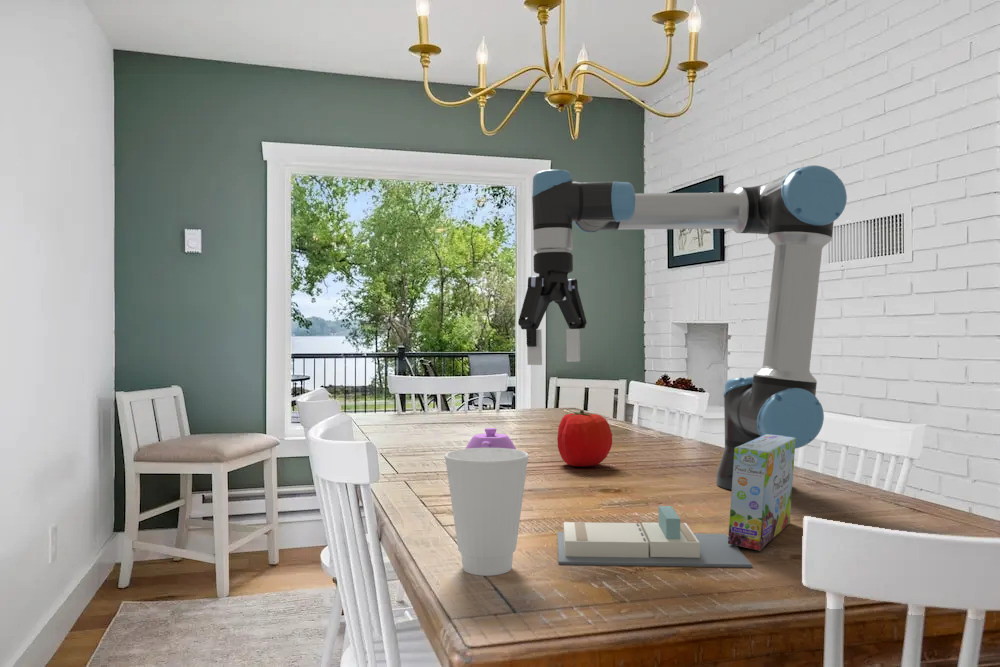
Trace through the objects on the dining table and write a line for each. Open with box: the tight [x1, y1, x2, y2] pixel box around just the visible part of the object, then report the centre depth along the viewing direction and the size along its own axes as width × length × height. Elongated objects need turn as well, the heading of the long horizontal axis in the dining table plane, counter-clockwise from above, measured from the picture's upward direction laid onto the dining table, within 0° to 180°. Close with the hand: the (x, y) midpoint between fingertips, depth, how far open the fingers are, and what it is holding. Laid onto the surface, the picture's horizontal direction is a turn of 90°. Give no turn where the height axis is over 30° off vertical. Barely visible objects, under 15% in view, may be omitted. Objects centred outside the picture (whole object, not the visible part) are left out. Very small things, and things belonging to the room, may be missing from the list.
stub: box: [640, 505, 700, 558], centre depth 114 cm, size 7×11×5 cm, turn 176°
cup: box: [444, 448, 530, 577], centre depth 105 cm, size 12×12×16 cm
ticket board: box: [556, 521, 753, 568], centre depth 114 cm, size 27×16×3 cm, turn 86°
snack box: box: [727, 434, 796, 551], centre depth 121 cm, size 21×6×15 cm, turn 148°
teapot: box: [465, 427, 517, 450], centre depth 177 cm, size 14×20×11 cm
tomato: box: [556, 409, 613, 468], centre depth 184 cm, size 16×14×14 cm
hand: (554, 363), depth 144 cm, fingers open, 13 cm apart
